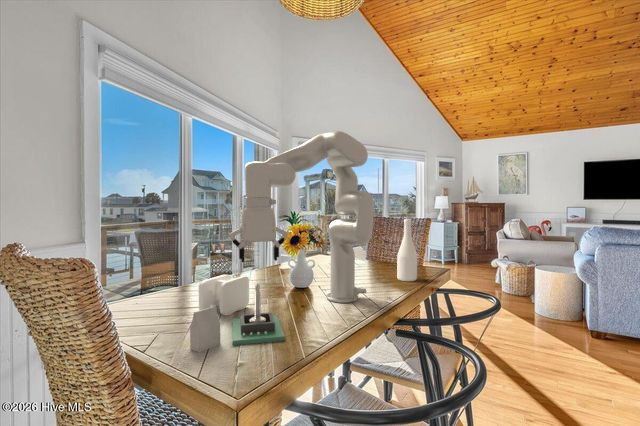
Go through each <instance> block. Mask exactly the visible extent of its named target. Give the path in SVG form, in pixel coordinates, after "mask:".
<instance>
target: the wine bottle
mask: <svg viewBox="0 0 640 426" xmlns="http://www.w3.org/2000/svg"><path fill="white" fill-rule="evenodd" d="M403 225H404V226H403V237H402V240H401V243H400V247H399V248H398V252H397V257H396V262H397V263H396V267H397V269H396V277H397V280H399V281H402V282H415V281H417V279H418V254H417V251H416V247H415V244H414V242H413V241H414V240H413V238H412V218H404V219H403Z"/></svg>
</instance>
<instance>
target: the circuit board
mask: <svg viewBox="0 0 640 426" xmlns="http://www.w3.org/2000/svg"><path fill="white" fill-rule="evenodd" d="M260 316H261V317H264V318H265V319H266V321H265V322H263V323H250V322H249V320H250V319H251V318H252V317H255V313H247V314H246V313H244V314H240V317H239V318H237V317H236V318H233V319H232V346H239V345H251V344H252V345H253V344H262V343H272V342H282V341H283V342H284V341H285V339H286V338H285V333H284V330H283V328H282V325H281V321H280V320H279V317H278V315H273V313H272V312H261V315H260Z"/></svg>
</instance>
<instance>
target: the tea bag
mask: <svg viewBox="0 0 640 426" xmlns="http://www.w3.org/2000/svg"><path fill="white" fill-rule="evenodd" d="M217 309H218V308H217ZM217 309H216V306H214V307H210V308H207V309H204V310H200V311H199V310H198V311H195V312H193V315H192V320H191V323H190V326H189V333H190V334H189V342H190V343H189V344H190V345H189V347H190V348H189V349H190V350H192V351H193V352H196V353H202V352H204V351H207V350H209V349H211V348H214V347H216V346H218V345H221V320H220V317H219V313H218V311H217Z"/></svg>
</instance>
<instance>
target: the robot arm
mask: <svg viewBox="0 0 640 426" xmlns="http://www.w3.org/2000/svg"><path fill="white" fill-rule="evenodd" d="M368 154H369V153H368V150H367V148H366V146H365V145H364V144H363V143H362V142H361V141H359V140H357V139H356V138H354V137H353V136H351V135H350V134H348V133H346V132H343V131H340V130H338V131H337V130H336V131H331V132H329V131H328V132H326V133H319V134H318V135H316V136H314V137H312V138H310V139H309V140H307V141H305V142H304V143H302V144H299V146H296V147H294V148H291V149H290V150H286V151H285V152H282V153H280V154H277V155H275V156H273V157H270V158H268V159H267V160H266V161H251V162H247V163H246V164H245V166H244V167H245V168H244V174H245V176H244V177H245V178H244V180H245V182H244V183H245V185H244V186H245V187H244V188H245V190H244V191H245V208H243V209H242V216H241V227H239V228H238V229H235V230H234V231H232V232H231V233H229V235H228V236H229V238H230V240H231V242H232V243H233V244H234V245H235V246H236V248H237V249H238V258H239V260H241V263H244V262H245V248H244V247H245V245H246V244H247V243H264V242H265V243H267V242H271V243H273V244H274V245H273V248H272V249H273V250H272V251H273V253H272V254H273V255H272V256H273V260H274V261H278V258H280V247H281V246H282V244H283V243H285V241H286V238H287V237H288V231H285V230H284V229H281V228H280V227H278V226H277V225H276V217H275V215H276V214H275V210H274V208H273V207H272V206H274V205H276V204H277V200H276V199H274V198H272V188H285V187H289V186H291V185H292V184H293V183H294V181H295V180H296V173H302V172H305V171H306V170H310V169H312V168H314V167H315V166H317V165H318V164H319V163H321V162H322V161H323V160H325V159H326V162H327V164H328V166H329V167H330V168H331V169H332V171H333V173H334V175H335V179H336V180H335V181H336V184H335V185H336V186H335V195H334V210H335V211H334V212H336V213H337V214H338V215H340V216H351V217H356V219H352V218H337V219H333V220H332V221H331V222H330V224H329V225H328V238H329V239H328V240H329V245H330V292H329V293H327V294H326V299H327V300H328V301H330V302H333V303H340V304H341V303H342V304H343V303H344V304H346V303H348V304H349V303H353V302H356V301H358V300H359V295H360V294H367V288H365V287H364V288H362V287H356V286H355V285H356V284H355V283H356V282H355V280H356V276H355V274H356V272H355V271H356V270H355V266H356V265H355V264H356V262H355V261H356V253H355V251H354V250H355V249H354V247H353V245H359V246H362V245H367V244H369V242H370V241H371V239H372V236H373V228H374V227H373V226H374V214H375V202H374V198H373V196H372V194H371V193H369V192H368V191H362V190H358V188H359V187H358V186H359V180H358V175H357V174H356V172H355V170H354V169H353V168H358V167H362V166H364V165H365V164H366V163H367V161H368V158H369V157H368V156H369V155H368ZM277 233H279V234H281V236H280V238H279V239H278V240H277V239H276V238H277ZM239 234H240V236H241V241H240V242H239V240H237V239H236V236H238V235H239Z"/></svg>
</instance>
